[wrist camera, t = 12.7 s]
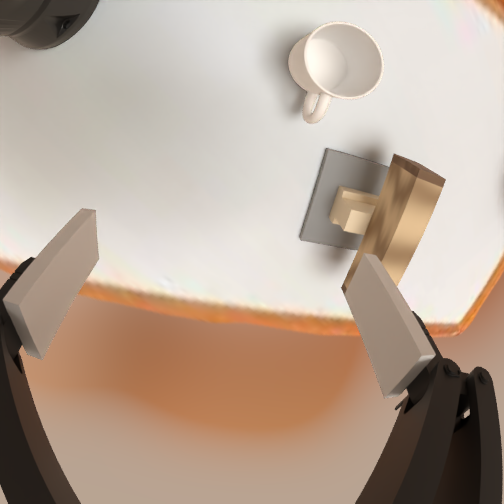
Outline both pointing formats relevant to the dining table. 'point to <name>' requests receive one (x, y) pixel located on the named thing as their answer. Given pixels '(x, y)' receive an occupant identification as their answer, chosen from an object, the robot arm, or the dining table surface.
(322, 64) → the cup
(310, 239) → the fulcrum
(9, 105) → the dining table surface
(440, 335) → the dining table surface
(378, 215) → the oak bar
